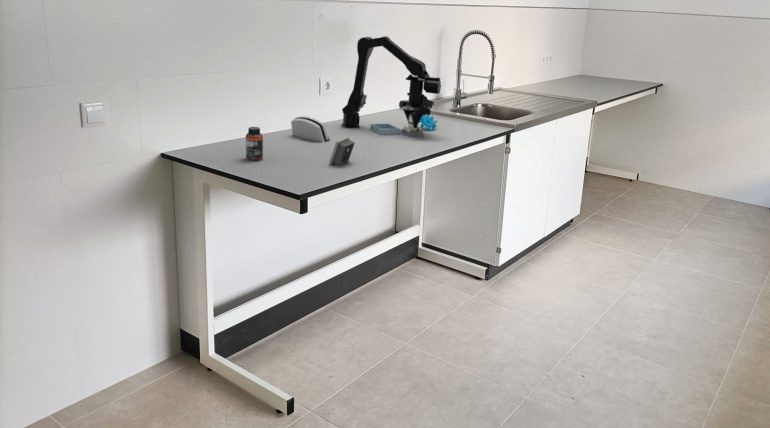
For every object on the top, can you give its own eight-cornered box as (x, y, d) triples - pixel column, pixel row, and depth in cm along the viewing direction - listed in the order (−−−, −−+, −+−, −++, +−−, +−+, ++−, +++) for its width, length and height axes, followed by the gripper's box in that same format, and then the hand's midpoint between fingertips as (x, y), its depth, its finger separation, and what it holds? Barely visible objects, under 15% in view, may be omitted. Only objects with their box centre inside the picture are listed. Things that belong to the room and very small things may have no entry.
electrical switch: (340, 159, 243) (343, 135, 240) (352, 162, 241) (356, 138, 238) (328, 164, 235) (331, 139, 231) (341, 168, 233) (345, 143, 230)
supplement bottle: (255, 156, 239) (255, 125, 235) (266, 159, 235) (266, 128, 231) (242, 158, 234) (242, 127, 231) (253, 162, 231) (253, 130, 227)
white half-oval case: (330, 140, 270) (326, 118, 264) (323, 146, 267) (319, 124, 261) (300, 133, 278) (295, 111, 273) (293, 138, 275) (287, 117, 270)
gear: (423, 128, 297) (417, 110, 300) (416, 135, 301) (409, 117, 305) (441, 130, 303) (435, 112, 307) (434, 137, 308) (428, 119, 311)
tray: (381, 135, 285) (381, 129, 285) (370, 129, 295) (370, 124, 294) (399, 134, 289) (400, 128, 289) (388, 129, 299) (388, 123, 298)
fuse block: (408, 137, 286) (409, 129, 285) (401, 133, 292) (402, 125, 291) (423, 136, 289) (423, 128, 288) (415, 132, 295) (416, 125, 294)
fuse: (410, 131, 287) (412, 115, 285) (406, 129, 291) (407, 113, 288) (418, 131, 289) (420, 115, 287) (414, 129, 292) (415, 113, 290)
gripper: (443, 95, 280) (439, 131, 285) (421, 87, 295) (418, 122, 301) (420, 95, 275) (416, 132, 280) (399, 87, 291) (397, 122, 296)
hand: (412, 127), depth 289 cm, fingers closed on fuse, 4 cm apart
